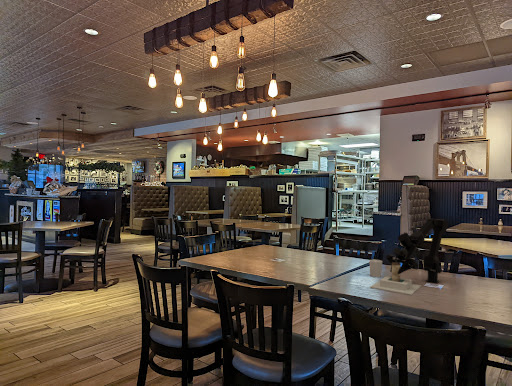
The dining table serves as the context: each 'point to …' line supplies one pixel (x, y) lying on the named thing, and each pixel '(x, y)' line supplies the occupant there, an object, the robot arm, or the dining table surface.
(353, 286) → the dining table surface
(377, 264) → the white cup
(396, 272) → the tan cylinder
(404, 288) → the cream stepped platform
